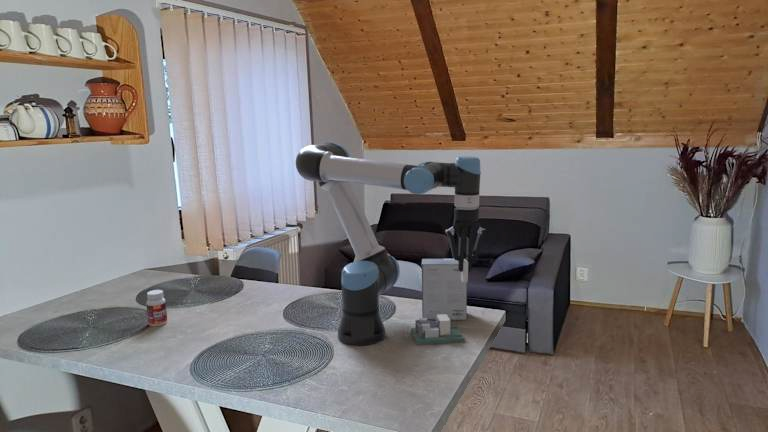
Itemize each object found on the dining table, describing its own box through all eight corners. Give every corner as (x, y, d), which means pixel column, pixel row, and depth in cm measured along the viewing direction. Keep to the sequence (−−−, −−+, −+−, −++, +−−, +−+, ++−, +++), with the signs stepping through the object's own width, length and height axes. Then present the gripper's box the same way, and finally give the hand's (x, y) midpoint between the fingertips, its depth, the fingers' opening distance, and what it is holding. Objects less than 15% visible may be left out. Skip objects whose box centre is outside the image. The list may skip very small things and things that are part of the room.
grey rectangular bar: (417, 328, 172) (417, 325, 172) (416, 325, 174) (416, 322, 174) (446, 326, 173) (445, 322, 172) (444, 323, 175) (444, 319, 175)
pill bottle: (155, 328, 185) (152, 296, 182) (144, 324, 188) (141, 293, 186) (171, 322, 190) (168, 291, 188) (160, 318, 193) (157, 288, 191)
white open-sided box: (440, 335, 172) (440, 320, 171) (436, 328, 177) (436, 314, 176) (450, 334, 172) (450, 320, 171) (446, 328, 177) (446, 314, 176)
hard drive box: (465, 312, 195) (466, 258, 191) (466, 320, 187) (467, 264, 183) (422, 311, 196) (422, 257, 192) (421, 319, 189) (421, 263, 185)
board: (416, 344, 168) (416, 328, 167) (411, 331, 179) (411, 316, 178) (464, 341, 170) (464, 326, 169) (456, 328, 180) (456, 313, 179)
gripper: (448, 210, 163) (446, 285, 168) (491, 209, 165) (487, 284, 169) (443, 205, 170) (441, 278, 175) (483, 204, 172) (481, 276, 177)
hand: (464, 280), depth 172 cm, fingers closed
